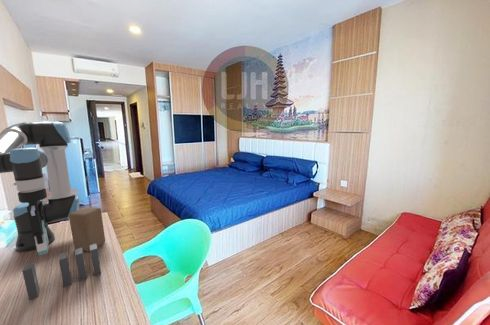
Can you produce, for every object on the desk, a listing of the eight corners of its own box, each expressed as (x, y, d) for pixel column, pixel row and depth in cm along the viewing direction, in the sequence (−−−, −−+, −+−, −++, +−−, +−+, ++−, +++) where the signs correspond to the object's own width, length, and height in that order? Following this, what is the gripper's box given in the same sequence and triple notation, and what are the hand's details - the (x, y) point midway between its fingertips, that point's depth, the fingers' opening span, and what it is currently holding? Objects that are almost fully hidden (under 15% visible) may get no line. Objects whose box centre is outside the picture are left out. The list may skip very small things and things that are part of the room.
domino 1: (30, 291, 84) (24, 264, 82) (39, 288, 85) (33, 261, 83) (28, 300, 80) (22, 271, 78) (38, 296, 82) (31, 268, 79)
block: (90, 252, 109) (84, 215, 105) (73, 250, 111) (67, 213, 107) (106, 241, 118) (101, 207, 114) (91, 240, 120) (85, 206, 116)
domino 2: (40, 249, 86) (34, 221, 84) (48, 247, 87) (43, 219, 85) (38, 255, 82) (32, 225, 80) (47, 253, 83) (41, 223, 81)
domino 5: (93, 269, 96) (89, 245, 94) (100, 267, 98) (96, 243, 95) (94, 276, 92) (90, 250, 90) (101, 273, 94) (97, 248, 91)
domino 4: (79, 274, 93) (74, 249, 91) (86, 272, 94) (82, 247, 92) (79, 281, 89) (74, 255, 87) (87, 278, 91) (82, 252, 88)
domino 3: (64, 280, 90) (59, 254, 88) (71, 277, 91) (67, 251, 89) (63, 287, 86) (58, 260, 84) (71, 284, 88) (66, 257, 85)
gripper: (22, 186, 85) (33, 241, 89) (11, 198, 71) (25, 262, 75) (47, 183, 90) (57, 235, 94) (42, 193, 75) (54, 254, 80)
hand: (43, 247), depth 84 cm, fingers closed on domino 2, 5 cm apart
